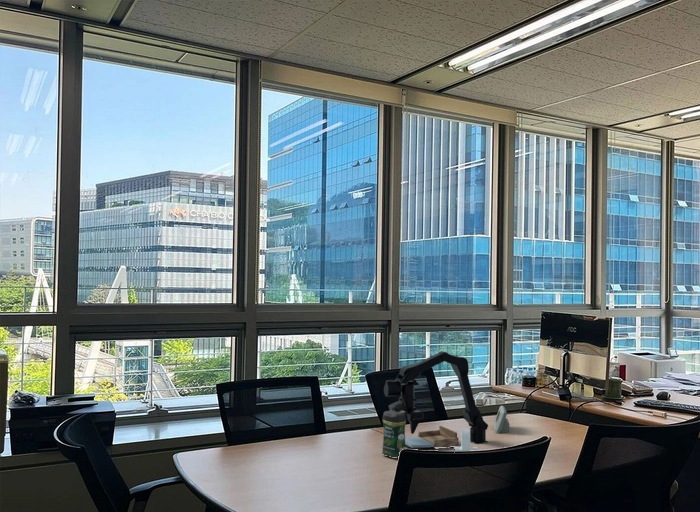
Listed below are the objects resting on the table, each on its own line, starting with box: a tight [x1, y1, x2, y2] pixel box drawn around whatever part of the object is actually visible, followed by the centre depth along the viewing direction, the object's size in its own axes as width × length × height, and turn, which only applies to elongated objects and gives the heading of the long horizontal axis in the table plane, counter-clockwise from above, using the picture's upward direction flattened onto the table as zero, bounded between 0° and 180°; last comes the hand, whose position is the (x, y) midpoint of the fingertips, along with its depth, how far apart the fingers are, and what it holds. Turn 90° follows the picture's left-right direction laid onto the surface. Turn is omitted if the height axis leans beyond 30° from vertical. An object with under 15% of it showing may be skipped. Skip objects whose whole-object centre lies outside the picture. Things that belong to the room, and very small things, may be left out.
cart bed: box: [417, 425, 459, 447], centre depth 276 cm, size 11×16×6 cm
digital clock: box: [493, 405, 511, 434], centre depth 302 cm, size 16×9×11 cm, turn 158°
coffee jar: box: [381, 409, 407, 458], centre depth 256 cm, size 10×8×19 cm
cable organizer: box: [453, 428, 479, 451], centre depth 261 cm, size 5×10×10 cm, turn 84°
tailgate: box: [405, 436, 434, 449], centre depth 271 cm, size 1×15×11 cm
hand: (407, 431), depth 270 cm, fingers open, 9 cm apart
